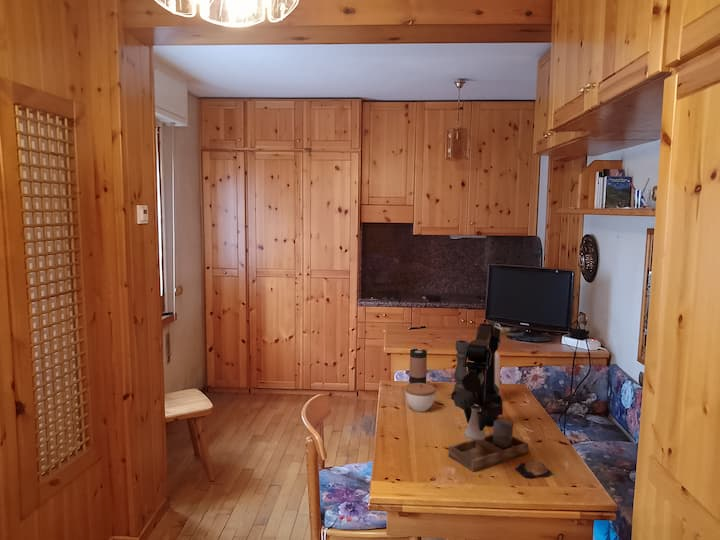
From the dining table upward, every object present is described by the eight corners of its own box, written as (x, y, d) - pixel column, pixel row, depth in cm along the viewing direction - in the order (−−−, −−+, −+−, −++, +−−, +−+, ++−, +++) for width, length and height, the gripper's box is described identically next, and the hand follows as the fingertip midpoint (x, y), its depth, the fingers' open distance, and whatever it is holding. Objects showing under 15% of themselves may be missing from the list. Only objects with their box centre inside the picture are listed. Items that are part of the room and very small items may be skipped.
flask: (486, 441, 166) (487, 412, 165) (463, 439, 168) (464, 410, 166) (485, 432, 173) (486, 404, 172) (463, 430, 175) (464, 402, 173)
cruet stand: (501, 440, 186) (502, 413, 185) (527, 453, 176) (529, 425, 175) (448, 456, 173) (449, 427, 172) (473, 471, 163) (474, 441, 162)
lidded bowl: (439, 407, 217) (440, 381, 216) (427, 416, 207) (427, 390, 206) (413, 401, 224) (413, 376, 223) (399, 410, 214) (400, 384, 212)
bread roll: (539, 464, 169) (540, 454, 169) (556, 477, 161) (557, 466, 161) (511, 469, 166) (512, 458, 166) (527, 482, 158) (528, 470, 158)
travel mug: (415, 397, 228) (416, 353, 226) (405, 392, 235) (406, 349, 233) (429, 395, 232) (430, 351, 230) (419, 389, 239) (420, 347, 236)
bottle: (477, 401, 224) (479, 334, 221) (484, 396, 230) (486, 331, 227) (495, 405, 219) (497, 337, 216) (501, 400, 226) (504, 333, 222)
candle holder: (451, 393, 234) (453, 340, 231) (465, 393, 234) (467, 339, 231) (455, 398, 227) (457, 343, 225) (469, 398, 228) (471, 343, 225)
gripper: (439, 377, 172) (438, 422, 174) (478, 395, 156) (476, 443, 158) (464, 372, 178) (463, 415, 180) (504, 388, 162) (502, 436, 164)
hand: (475, 427), depth 170 cm, fingers closed on flask, 5 cm apart
